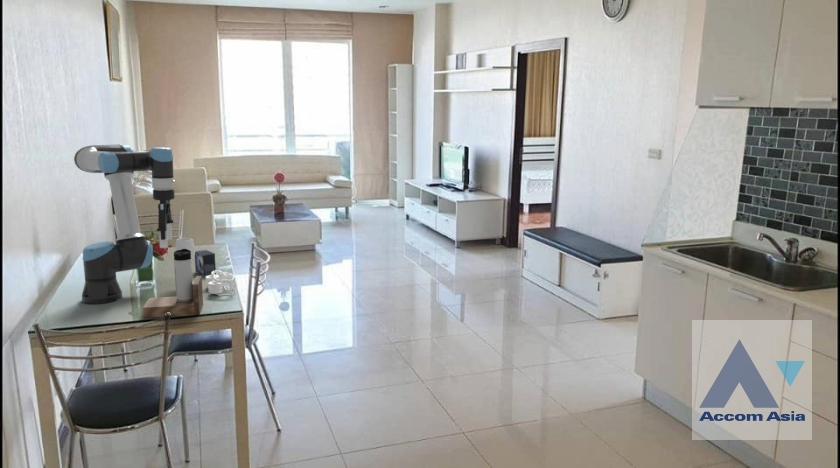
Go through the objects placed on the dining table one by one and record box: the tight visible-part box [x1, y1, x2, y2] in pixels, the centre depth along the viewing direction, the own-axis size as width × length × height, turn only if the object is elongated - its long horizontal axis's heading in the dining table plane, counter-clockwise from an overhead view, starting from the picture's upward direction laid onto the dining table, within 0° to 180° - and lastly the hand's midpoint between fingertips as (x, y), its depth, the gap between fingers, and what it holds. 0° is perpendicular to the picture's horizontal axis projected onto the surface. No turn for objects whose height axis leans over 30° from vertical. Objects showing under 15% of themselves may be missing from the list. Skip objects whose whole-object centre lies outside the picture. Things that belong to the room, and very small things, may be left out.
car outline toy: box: [205, 269, 236, 297], centre depth 271 cm, size 20×11×7 cm, turn 24°
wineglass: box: [174, 237, 196, 262], centre depth 279 cm, size 9×9×21 cm
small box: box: [194, 249, 217, 277], centre depth 301 cm, size 11×6×10 cm, turn 42°
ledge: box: [142, 275, 204, 318], centre depth 243 cm, size 20×13×12 cm, turn 103°
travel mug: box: [173, 249, 194, 303], centre depth 242 cm, size 6×7×20 cm
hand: (166, 243), depth 240 cm, fingers open, 13 cm apart
